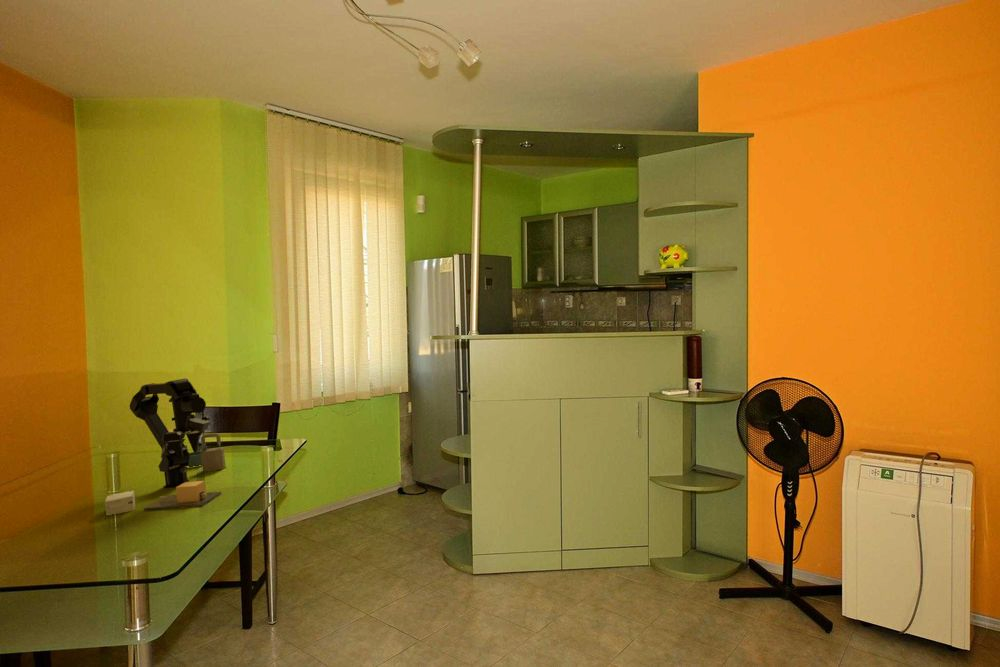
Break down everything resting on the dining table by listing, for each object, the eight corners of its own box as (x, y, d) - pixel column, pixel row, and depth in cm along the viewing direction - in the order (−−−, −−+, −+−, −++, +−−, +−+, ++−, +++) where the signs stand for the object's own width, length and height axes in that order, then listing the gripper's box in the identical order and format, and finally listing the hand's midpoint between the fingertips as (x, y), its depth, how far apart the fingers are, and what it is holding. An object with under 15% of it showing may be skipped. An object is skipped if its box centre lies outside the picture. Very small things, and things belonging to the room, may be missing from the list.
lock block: (177, 502, 193) (175, 487, 192) (186, 497, 198) (184, 482, 197) (197, 500, 192) (196, 485, 192) (206, 495, 197) (204, 480, 197)
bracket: (209, 464, 244) (206, 444, 244) (184, 469, 240) (182, 448, 239) (207, 460, 252) (205, 440, 252) (183, 465, 247) (181, 444, 247)
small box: (106, 516, 187) (104, 501, 187) (108, 510, 194) (106, 495, 194) (134, 510, 191) (132, 495, 191) (135, 504, 198) (134, 489, 198)
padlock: (223, 469, 234) (218, 433, 233) (202, 472, 233) (197, 435, 232) (226, 466, 238) (222, 431, 237) (205, 469, 237) (201, 433, 236)
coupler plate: (143, 510, 190) (142, 503, 189) (165, 498, 202) (165, 491, 201) (202, 506, 189) (201, 499, 189) (221, 493, 201) (220, 487, 201)
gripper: (189, 415, 202) (195, 459, 203) (217, 406, 221) (222, 446, 221) (158, 419, 202) (164, 462, 203) (189, 409, 221) (194, 449, 222)
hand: (188, 454), depth 212 cm, fingers open, 9 cm apart
